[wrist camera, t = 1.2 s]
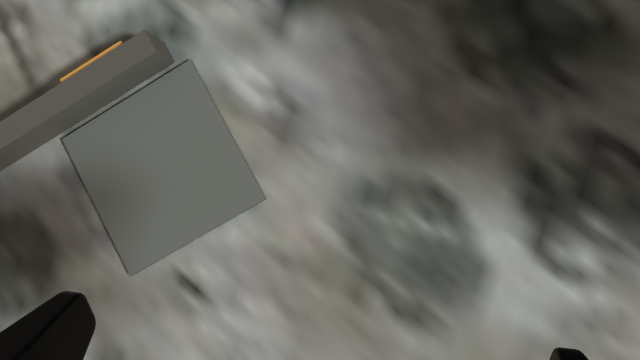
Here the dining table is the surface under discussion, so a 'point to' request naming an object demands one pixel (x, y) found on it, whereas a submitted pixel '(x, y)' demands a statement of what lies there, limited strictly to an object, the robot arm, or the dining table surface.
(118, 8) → the dining table surface
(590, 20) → the dining table surface
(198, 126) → the price rail
